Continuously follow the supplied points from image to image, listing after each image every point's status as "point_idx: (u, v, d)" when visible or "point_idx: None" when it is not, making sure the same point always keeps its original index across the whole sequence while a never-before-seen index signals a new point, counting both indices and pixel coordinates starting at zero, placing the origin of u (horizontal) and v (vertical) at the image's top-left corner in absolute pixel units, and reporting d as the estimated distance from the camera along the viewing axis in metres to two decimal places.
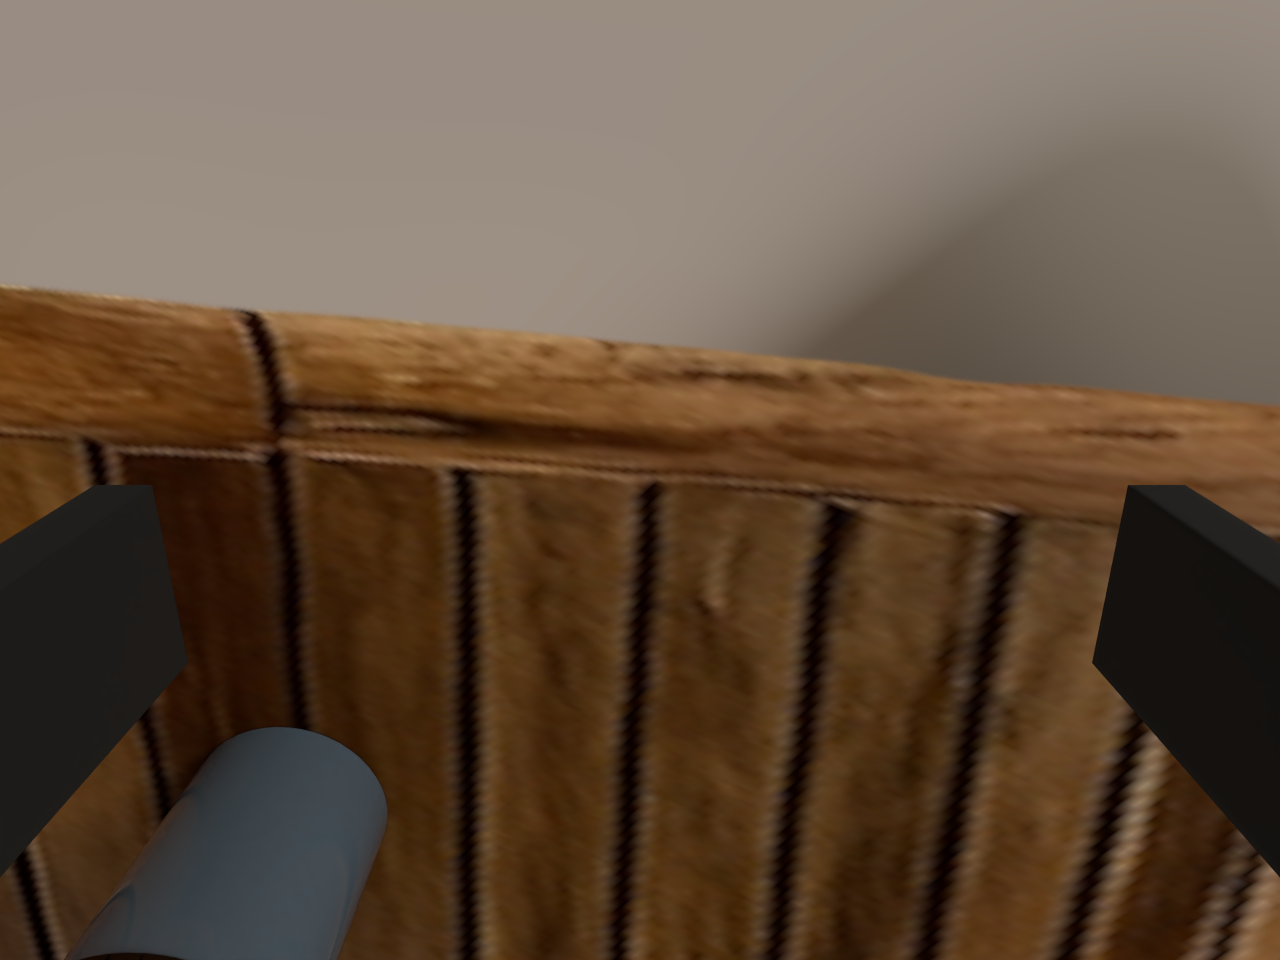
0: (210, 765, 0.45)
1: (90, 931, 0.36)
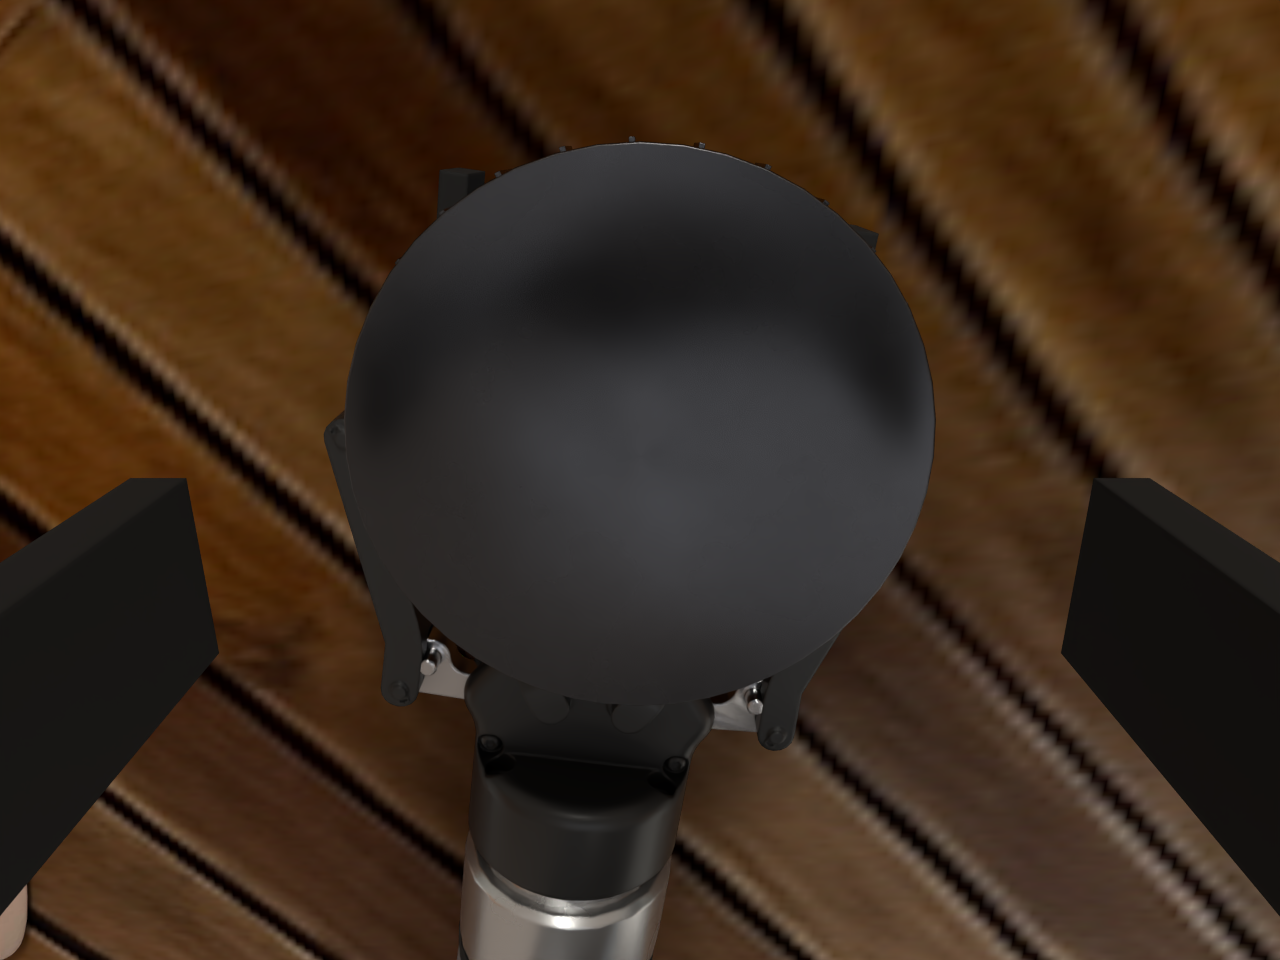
0: None
1: None
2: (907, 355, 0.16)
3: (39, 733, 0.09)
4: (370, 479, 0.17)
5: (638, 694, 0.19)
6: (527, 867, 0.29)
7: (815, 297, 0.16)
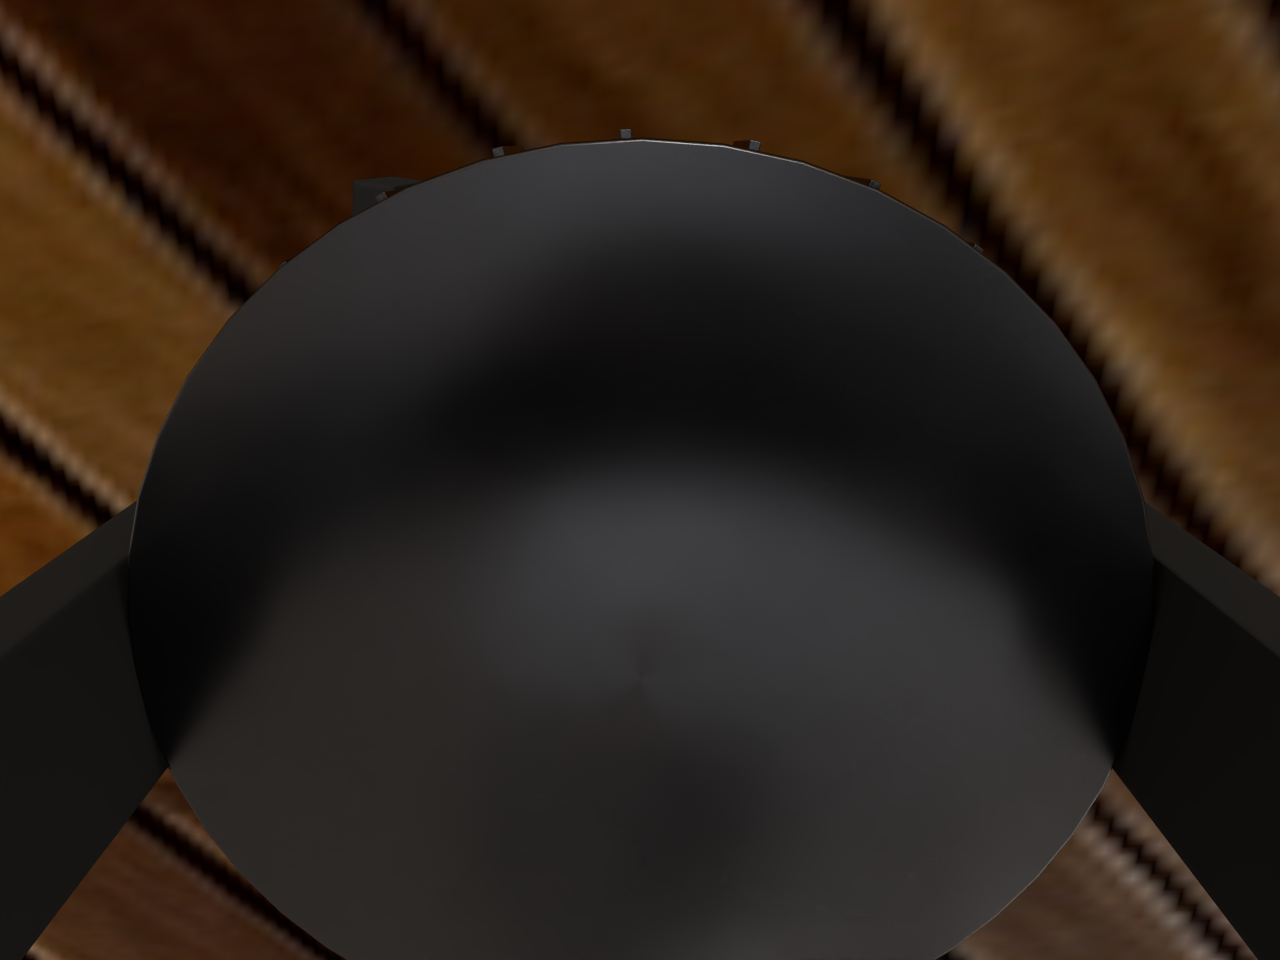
0: None
1: None
2: (1114, 517, 0.09)
3: (109, 711, 0.09)
4: (181, 714, 0.10)
5: None
6: None
7: (957, 419, 0.09)
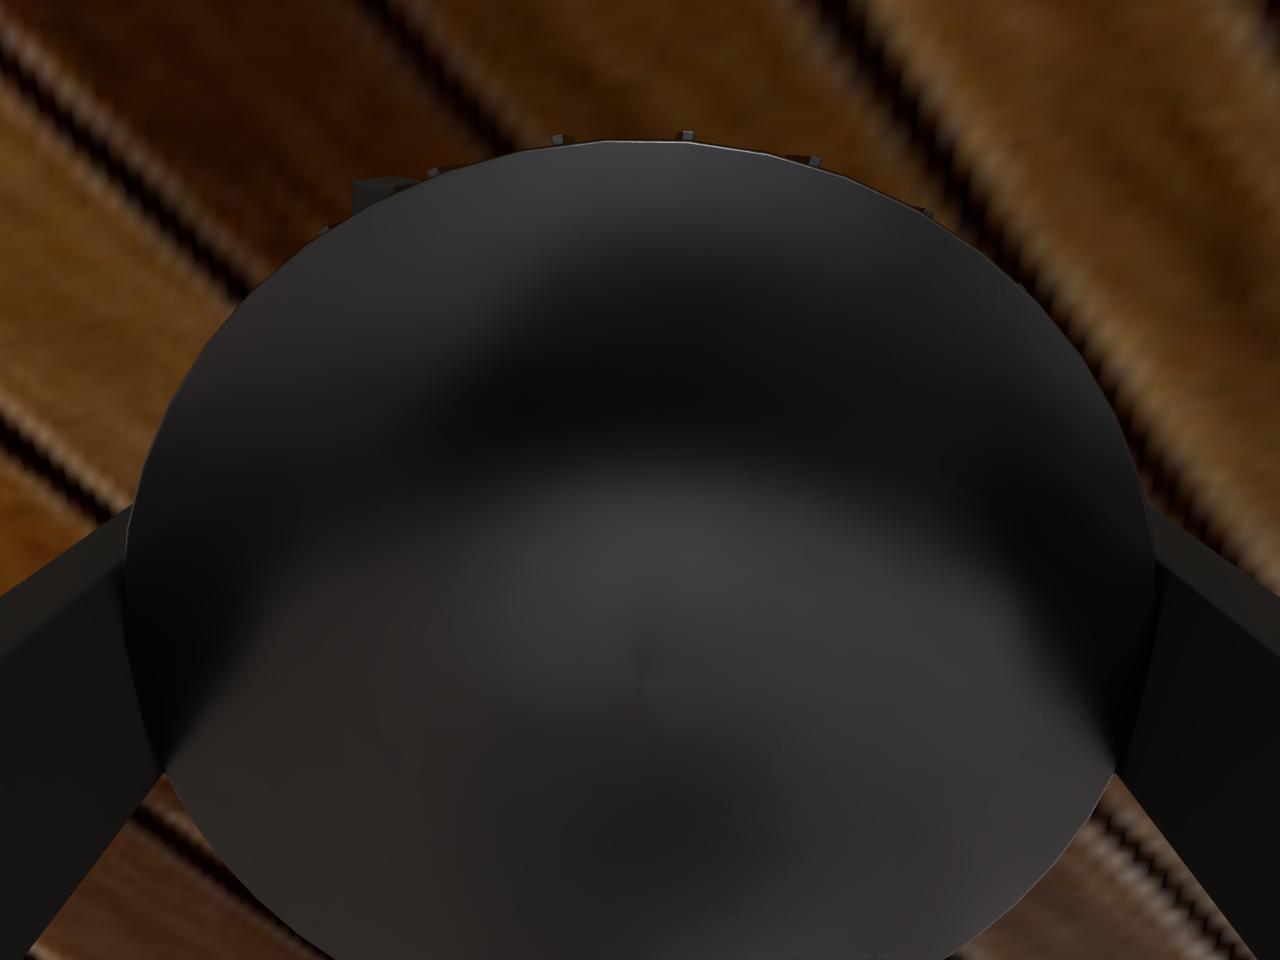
0: None
1: None
2: (396, 235, 0.08)
3: (110, 711, 0.09)
4: None
5: (1125, 661, 0.10)
6: None
7: (317, 424, 0.09)
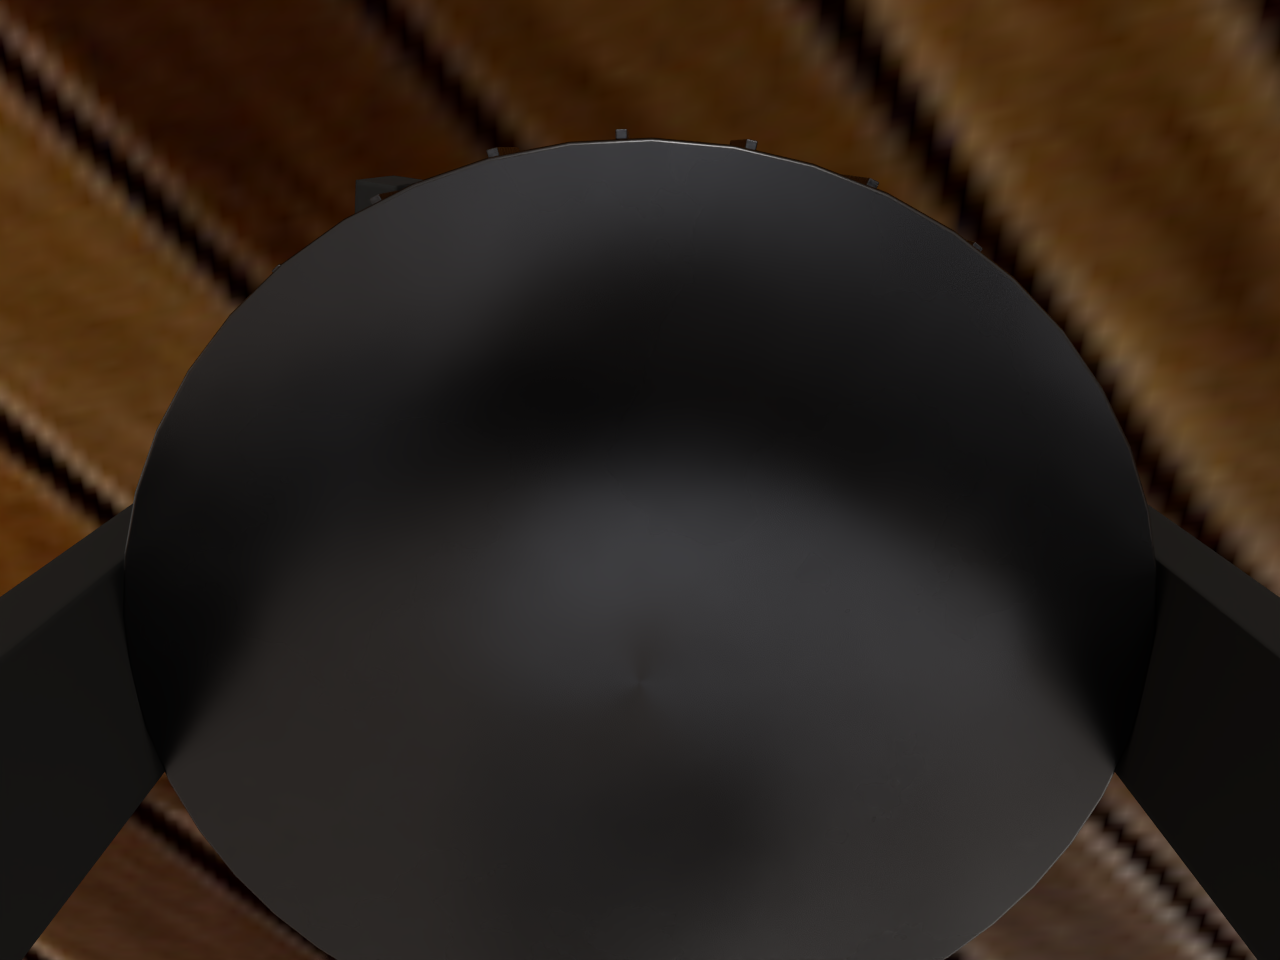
0: None
1: None
2: (252, 861, 0.11)
3: (110, 711, 0.09)
4: (1120, 596, 0.10)
5: (575, 177, 0.08)
6: None
7: (414, 915, 0.11)
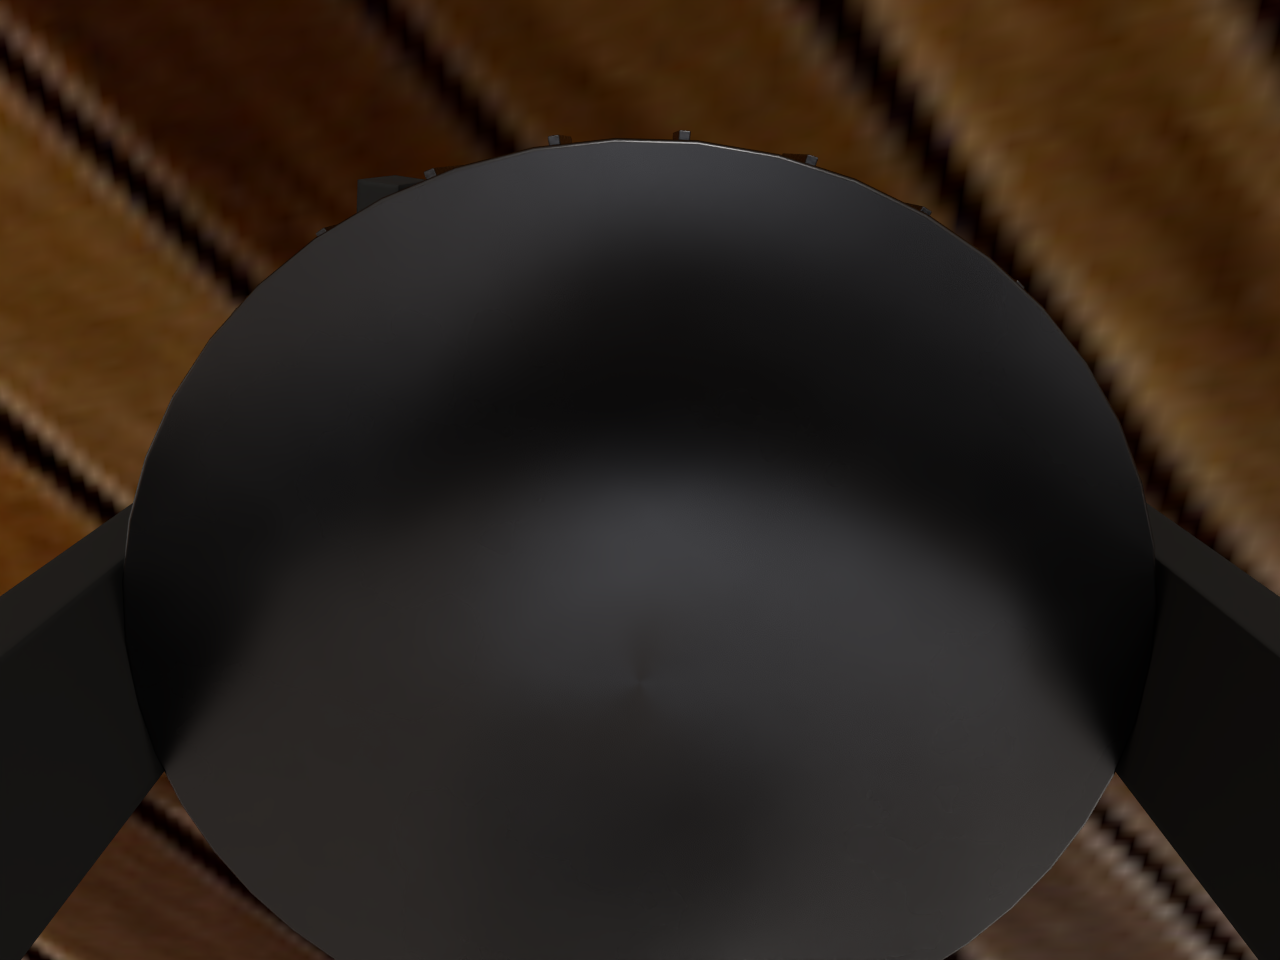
0: None
1: None
2: None
3: (109, 712, 0.09)
4: (490, 207, 0.08)
5: (178, 749, 0.10)
6: None
7: (929, 866, 0.11)
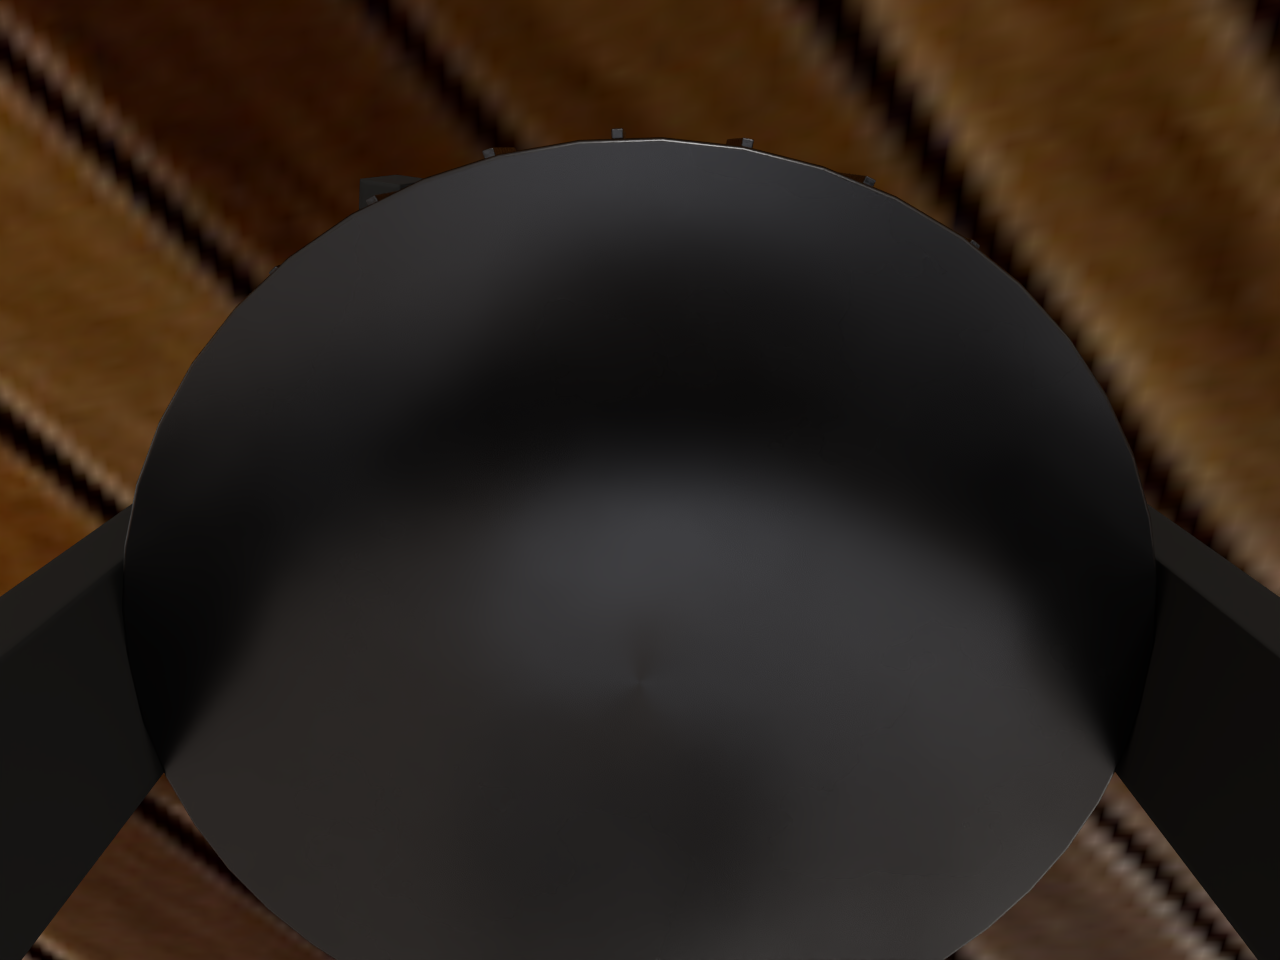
0: None
1: None
2: (1079, 419, 0.09)
3: (110, 711, 0.09)
4: (215, 803, 0.10)
5: None
6: None
7: (887, 358, 0.09)
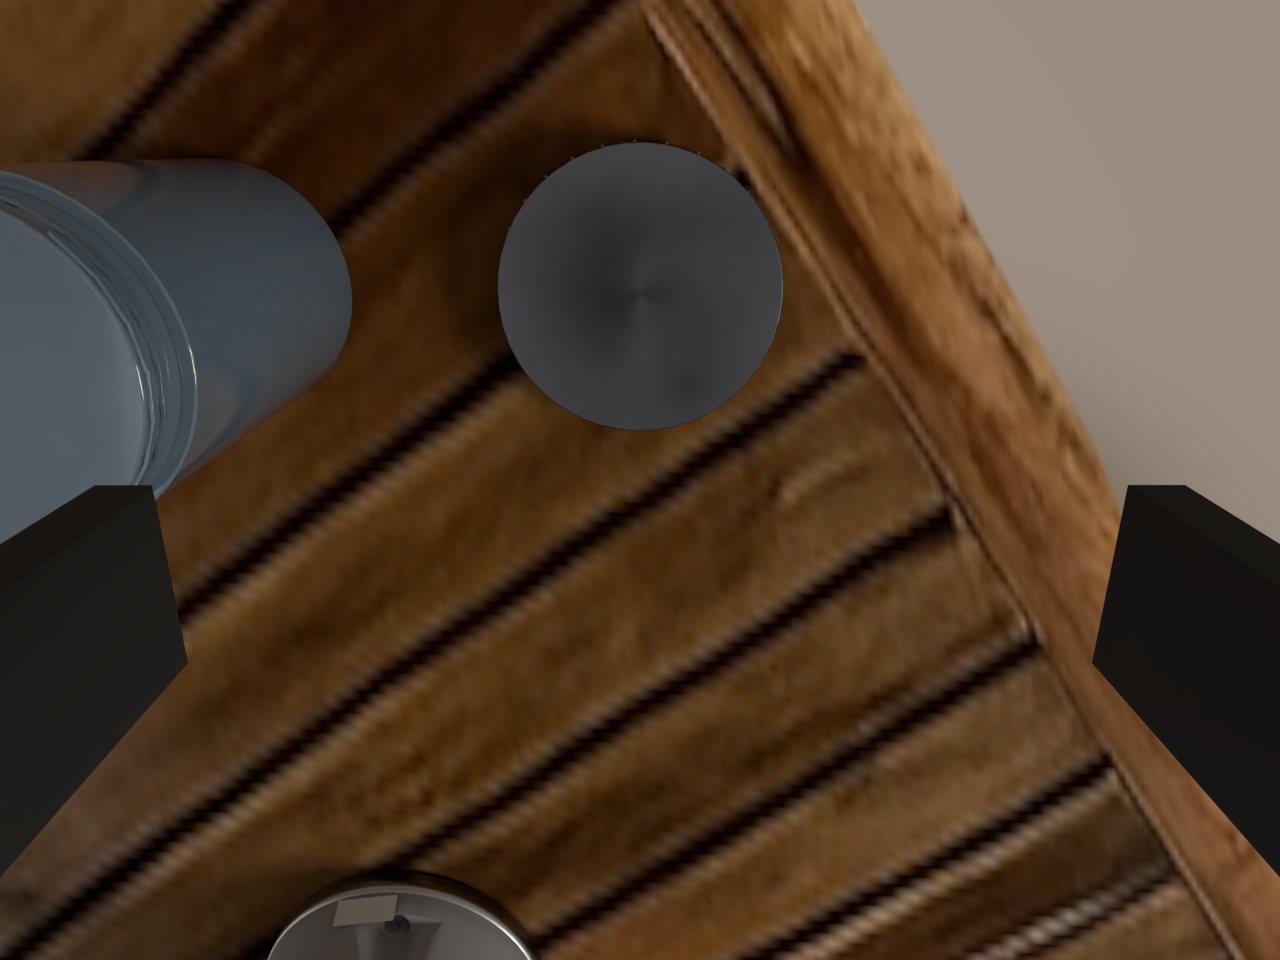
0: (226, 165, 0.34)
1: (52, 168, 0.24)
2: (753, 214, 0.34)
3: None
4: (516, 335, 0.36)
5: (668, 421, 0.37)
6: None
7: (702, 197, 0.34)
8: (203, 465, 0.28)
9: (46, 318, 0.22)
